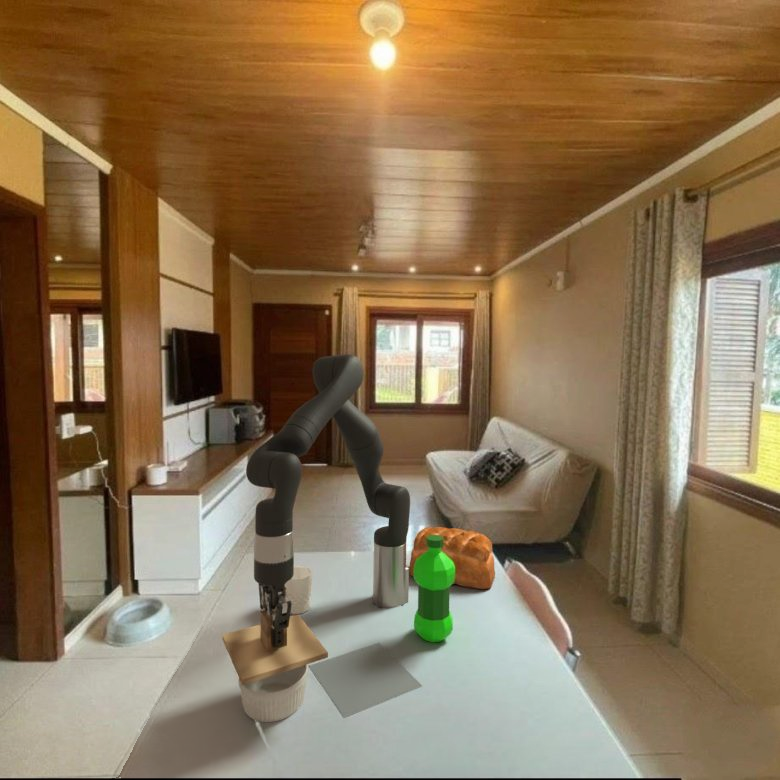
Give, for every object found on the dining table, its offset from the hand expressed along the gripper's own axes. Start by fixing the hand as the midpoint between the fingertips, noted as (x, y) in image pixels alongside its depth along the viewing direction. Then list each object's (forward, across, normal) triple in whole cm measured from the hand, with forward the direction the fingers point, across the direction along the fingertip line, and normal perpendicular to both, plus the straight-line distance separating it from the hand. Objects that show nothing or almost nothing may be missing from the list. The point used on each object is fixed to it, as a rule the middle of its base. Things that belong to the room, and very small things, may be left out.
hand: (273, 639), depth 93 cm
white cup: (+13, +33, -17) cm, 39 cm away
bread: (+13, +28, -67) cm, 73 cm away
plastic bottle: (+13, +3, -41) cm, 43 cm away
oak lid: (+2, 0, 0) cm, 2 cm away
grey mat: (+13, -2, -19) cm, 23 cm away
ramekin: (+13, 0, 0) cm, 13 cm away
